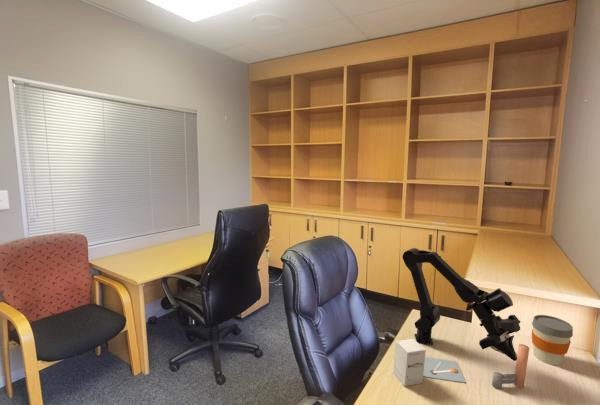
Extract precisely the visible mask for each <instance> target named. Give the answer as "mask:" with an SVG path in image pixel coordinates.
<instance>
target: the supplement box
mask: <svg viewBox="0 0 600 405" xmlns="http://www.w3.org/2000/svg"><path fill="white" fill-rule="evenodd" d="M426 351H427V350H426V349H425V348H424V347H423V346H422V345H421V343H418V342H416V339H414V338H409V339H403V340H396V341H395V347H394V355H393V356H394V358H393V359H394V360H393V368H392V370H393V371H392V374H393V375H394V376H395V377H396V379H398V381H399V382H400V383H401V384H402V386H403V387H408V386H414V385H419V384H423V381H424V377H423V373H424V362H425V357H426Z"/></svg>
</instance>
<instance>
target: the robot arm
mask: <svg viewBox="0 0 600 405" xmlns="http://www.w3.org/2000/svg"><path fill="white" fill-rule="evenodd" d="M402 260H403V262H404V264H405V267H406V268H407V269H408V270H409V272H410V274H411V277H412V280H413V284H414V288H415V291H416V294H417V298H418V301H419V306H420V309H419V316H420V317H419V318H418V319H417V320H416V321H415V322H414V326H415V328H416V333H414V338H415V341H416V342H418V343H419V344H424V345H430V346H431V345H432V346H433V345H434V342H433V340H432V332H433V328H434V326H436V324H437V323H438V322H439V321H440V319H441V315H442V313H441V311H440V308H439V305H435V304H434V303H433V301H432V298H431V296H430V291H429V289H428V285H427V282H426V278H425V275H424V271H423V264H425V263H428V264H431V266H432V267H434V268H435V270H436V271H438V272H439V274H440V275H442V276H443V277H444V279H445V280H447V281H448V282H449V284H450V285H452V287H453V289H454V290H455V293H456V294H457V295H458V297H459V298H460V299H461V301H462V302H464V303H466V305H467V306H466V308H465V310H466V311H467V312H468V311H471V310H472V311H473V312H474V314H475V315H476V317H477V318H478V320H479V321H480V323H479V326H480V327H481V328H482V327H483V328H484V329H485V332H486V333H487V334H486V336H485V337H483V338H481V339H480V340H479V342H478V345H479V346H480V348H481V349H482V350H485V349H488V348H491V346H492V347H495V348H496V349H498V350H500V351H501V352H502V353H501V352H500V353H501V354H504V355H505V356H507V357H508V358H509V359H510V360H512V361H514V362H515V361H517V354H516V351H515V347H514V343H513V340H514V338H515V335H510V334H513V333H518V332H519V331H521V326H520V324H521V321H520V320H519V318H518V317H517V316H516V315H515V314H510V315H508V317H507V318H506V317H505V318H502V317H501V316H500V315H496V314H495V312H497V313H499V312H501V311H504V310H506V309H508V308H510V307H512V306H514V302H513V299H512V298H511V297H510V295H509V294H507V293H506V292H505V291H504V290H502V289H501V288H500V287H498V288H497V289H495V290H494V291H492V292H490V293H489V292H487V291H485V290H482V289H481V288H479V287H478V286H477V285H475V284H474V283H472V282H471V281H470V280H468V279H465V278H463V277H462V276H461V275H460V274H459V273H458V272H457V271H456V270H455V269H454V268H452V267H451V266H450V265H449V264H448V263H447V261H445V260H444V259H443V258H442V257H441V256H440V255H439V254H438V253H437V252H436V251H428V250H424V249H423V250H421V249H418V248H416V247H412V248H410V249H408V250H405V251H404V252H403V254H402Z"/></svg>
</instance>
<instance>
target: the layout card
mask: <svg viewBox="0 0 600 405" xmlns="http://www.w3.org/2000/svg"><path fill="white" fill-rule="evenodd" d="M423 378H428V379H433V380H434V379H435V380H442V381H449V382H455V383H460V384H461V383H462V384H466V383H467V382H466V380H465V378H464V375H463V373H462V370H461V369H460V366H459V364H458V362H457V360H452V359H451V360H450V359H442V358H434V357H429V356H425V362H424V373H423Z"/></svg>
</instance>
